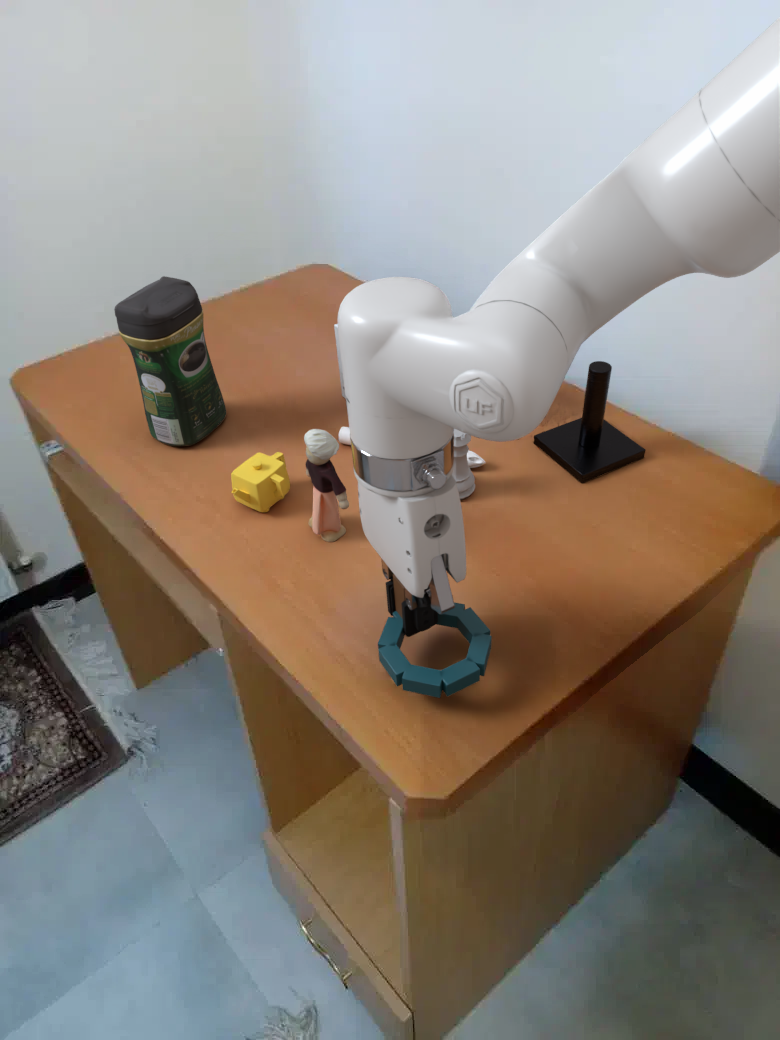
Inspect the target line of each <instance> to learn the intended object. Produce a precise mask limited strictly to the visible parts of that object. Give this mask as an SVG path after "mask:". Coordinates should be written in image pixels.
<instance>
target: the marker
mask: <svg viewBox="0 0 780 1040" xmlns="http://www.w3.org/2000/svg"><path fill="white" fill-rule="evenodd" d="M337 441H338V443H340V444H343V445H347V446H351V440H350V429H349V426H341V427H340V429H339V432H338V439H337ZM467 461H468V467H469V468H470V469H474V468H478V467H481V466H483V465H485V464H486V463H487V462H486V461H485V459H484V458H483V457H481V456H480V455H479V454H477V453H476V452H475V451H473V450H470V449H469V451H468V453H467Z"/></svg>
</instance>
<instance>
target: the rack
mask: <svg viewBox="0 0 780 1040" xmlns="http://www.w3.org/2000/svg"><path fill="white" fill-rule="evenodd" d="M587 370H588V371H587V376H586V377H587V378H586V384H585V393H584V400H583V407H582V413H581V417H579V418H576V419H574V420H571V421H568V422H566V423H563V424H561V425H558V426H555V427H552V428H550V429H548V430H545V431H542V432H539V433H537V434H534V435H533V444H534V445H535V446H536V447H538V449H540V450H541V451H542V452H543V453H544V454H546V455H547V456H548V457H549V458H551V459H552V460H553V461H554V462H555V463H557V464H558V465H559V466H560V467H561V468H563V469H564V470H565V471H566V472H567V473H568V474H570V475H571V476H572V477H573V478H574V479H576V480H577V481H578V482H579V483H581V484H584V483H587V482H589V481H592V480H594V479H596V478H598V477H601V476H604V475H606V474H609V473H611V472H613V471H616V470H618V469H621V468H624V467H625V466H628V465H631V464H633V463H635V462H638V461H641V460H642V459H644V458H645V456H646V449H645V448H644V447H643V446H641V445H640V444H639V443H637V442H636V441H634V440H633V439H632V438H630V437H629V436H628V435H626V434H625V433H624V432H622V431H621V430H619V429H618V428H617V427H615V426H614V425H612V424H611V423H610V422H608V421H607V420H606V419H605V413H606V407H607V402H608V401H607V400H608V394H609V389H610V383H611V375H612V370H613V366H612V364H610V363H609V362H606V361H601V360H596V361H592V362H591V363H590V364H588V369H587Z"/></svg>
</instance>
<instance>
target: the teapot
mask: <svg viewBox="0 0 780 1040" xmlns="http://www.w3.org/2000/svg"><path fill="white" fill-rule="evenodd" d="M285 459H286V458H285V454H284V453H283V452H280V451H277V452H274V454H272V455H268V454H265V453H262V452H259V451H258V452H256V453H255V454H253V455H252V456H250V457H248V458H247V459H246V460H245V461H243V462H242V463H241V464H240V465H238V466H237V467H236V468H235V469H234V470H233V471H232V472H231V473H230V479H231V488H232V490H231V491H230V493H231V494H232V495H233V497H234V500H235V501H236V502H237V503H239V504H242V505H243V506H245V507H248V508H249V509H252V510H255V511H257V512H259V513H268V512H269V511H270V508H271V507H273V505H275V504H276V503H278V502H279V501H281V500H283V499H285V496H286V495H287V494H288V493H289V491H290V490H291V481H290V477H289V473H288V469H287V463H286V460H285Z"/></svg>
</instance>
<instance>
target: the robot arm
mask: <svg viewBox="0 0 780 1040" xmlns="http://www.w3.org/2000/svg"><path fill="white" fill-rule="evenodd" d="M779 253H780V16H779V17H778V18H777V19H776V20H774V22H772V23H771V25H769V26H768V27H767V28H766V29H765V30H764V31H763V32H761V33H760V34H759V36H757V37H756V38H755V39H753V41H752V42H751V43H750V44H748V45H747V46H746V47H745V48H744V49H743V50H742V51H741V52H740V53H738V55H737V56H735V57H734V58H733V59H732V60H731V61H730V62H729V63H728V64H727V65H726V66H724V67H723V68H722V69H721V70H720V71H719V72H718V73H717V74H716V75H715V76H714V77H713V78H711V79H710V80H709V81H708V83H706V84H705V85H704V86H703V87H701V88H700V89H699V90H698V91H697V92H695V94H694V95H693V96H692V97H691V98H690V99H688V101H686V102H685V104H683V105H682V106H681V107H680V108H679V109H678V110H677V111H675V112H674V113H673V114H672V115H670V117H668V119H666V120H665V121H664V122H663V123H662V124H660V126H659V127H657V128H656V129H655V130H654V131H653V132H652V133H651V134H650V135H649V136H647V137H646V138H645V139H644V140H643V141H642V142H641V143H640V144H639V145H637V146H636V147H635V148H634V149H632V150H631V151H630V152H629V153H628V154H627V155H625V157H624V158H623V159H622V160H621V161H620V162H619V163H618V164H617V165H616V166H615V168H613V170H611V171H610V172H609V173H608V174H606V176H604V177H603V178H602V179H601V180H599V182H597V183H596V184H595V185H593V187H591V188H590V189H588V191H587V192H585V193H584V194H583V195H582V196H581V197H579V199H577V201H575V202H574V203H573V204H572V205H571V206H569V207H568V208H567V209H566V210H565V211H564V212H563V213H562V214H561V215H560V216H558V217H557V218H556V219H555V220H554V221H553V222H552V223H551V224H550V225H548V227H546V229H544V230H543V231H542V232H541V233H540V234H538V235H537V236H536V238H534V239H533V240H532V241H531V242H530V243H528V245H527V246H525V248H524V249H523V250H521V251H520V252H519V253H518V254H517V255H516V256H515V257H514V258H513V259H511V261H510V262H509V263H508V264H506V265H505V266H504V268H503V269H501V270H500V271H499V273H497V275H496V276H495V277H493V279H492V280H491V281H490V283H489V284H488V285H487V286H486V288H485V289H484V290H483V291H482V293H481V294H480V295H479V296H478V298H477V299H476V300H475V302H474V303H473V305H472V306H471V307H470V309H469V310H468V311H467V312H464V313H461V314H459V315H457V316H453V309H452V304H451V303H450V300H449V297H448V296H447V294H446V293H445V292H444V291H443V290H442V289H441V288H440V287H439V286H437V285H435V284H434V283H432V282H430V281H427V280H425V279H421V278H416V277H412V276H411V277H410V276H389V277H382V278H376V279H373V280H369V281H366V282H363V283H361V284H359V285H357V286H356V287H354V288H353V289H352V290H351V291H349V292H348V293H347V294H346V295H345V296H344V298H343V299H342V301H341V303H340V304H339V308H338V312H337V317H336V318H337V323H338V334H339V343H340V352H341V361H342V370H343V379H344V388H345V396H346V399H345V404H346V412H347V420H348V427H349V429H350V440H351V445H350V448H351V458H352V465H353V467H352V469H353V473H354V474H353V475H354V477H355V478H356V480H357V495H358V508H359V517H360V523H361V528H362V531H363V533H364V535H365V538H366V539H367V541H368V543H369V544H370V546H371V547H372V548H373V549H374V551H375V552H376V554H378V556H379V557H380V559H381V571H382V574H383V576H384V578H385V580H387V581H386V582H385V593H386V605H387V612H388V613H389V615H390V617H393V612H395V611H396V609H395V596H394V584H393V574H394V575H395V576H396V577H397V578H398V580H399V581H400V582H401V583H402V584H403V586H404V588H405V600H406V601H403V602H402V603H401V605H402V619H403V632H404V633H405V636H406V637H407V638H410V637H412V636H414V635H417V634H419V633H421V632H425V631H427V630H430V629H431V628H432V627H435V626H437V625H436V624H437V622H438V613H439V614H443V613H445V612H448V611H450V610H452V609H454V608H455V605H454V602H455V601H454V597H453V593H452V589H451V585H450V580H449V576H450V577H451V578H452V579H453V580H454V582H455V583H456V584H458V583H460V582H462V581H464V580H465V579H466V576H467V546H466V534H465V533H466V532H465V523H464V516H463V508H462V507H463V506H462V503H461V500H460V497H459V492H458V488H457V484H456V481H455V479H454V477H453V476H452V472H453V469H454V429H457V430H459V431H461V432H464V433H466V434H469V435H471V437H474V438H478V439H481V440H485V441H490V442H500V443H501V442H502V443H503V442H505V443H506V442H513V441H516V440H520V439H522V438H524V437H526V436H528V435H530V434H531V433H532V432H534V431H535V430H536V429H537V428H538V427H539V426H540V425H541V423H542V422H543V421H544V419H545V418H546V416H547V415H548V413H549V411H550V409H551V407H552V405H553V403H554V401H555V399H556V397H557V395H558V393H559V391H560V389H561V386H562V385H563V382H564V380H565V378H566V376H567V374H568V371H569V370H570V368H571V366H572V364H573V362H574V359H575V358H576V356H577V354H578V352H579V350H580V348H581V346H582V345H583V344H584V343H585V341H587V340H588V339H589V338H590V337H591V336H593V334H595V333H596V332H597V331H599V330H600V329H601V328H602V327H604V326H605V325H606V324H608V323H609V322H610V321H611V320H613V319H614V318H615V317H617V316H618V315H619V314H620V313H622V312H623V311H625V310H626V309H628V308H629V307H630V306H631V305H633V304H634V303H636V302H637V301H639V300H640V299H641V298H642V297H643V298H644V296H646V295H647V294H649V293H650V292H652V291H653V290H656V289H657V288H659V287H661V286H662V285H664V284H666V283H668V282H670V281H672V280H675V279H677V278H679V277H683V276H686V275H691V274H706V275H710V276H715V277H718V278H724V279H729V278H730V279H731V278H737V277H741V276H744V275H747V274H749V273H750V272H753V271H755V270H756V269H757V268H759V267H761V266H762V265H763V264H765V263H766V262H768V261H769V260H771V258H773V257H775V256H776V255H777V254H779ZM448 575H449V576H448Z"/></svg>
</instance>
